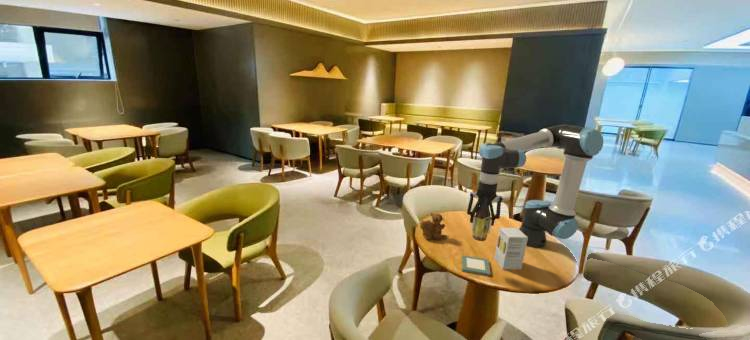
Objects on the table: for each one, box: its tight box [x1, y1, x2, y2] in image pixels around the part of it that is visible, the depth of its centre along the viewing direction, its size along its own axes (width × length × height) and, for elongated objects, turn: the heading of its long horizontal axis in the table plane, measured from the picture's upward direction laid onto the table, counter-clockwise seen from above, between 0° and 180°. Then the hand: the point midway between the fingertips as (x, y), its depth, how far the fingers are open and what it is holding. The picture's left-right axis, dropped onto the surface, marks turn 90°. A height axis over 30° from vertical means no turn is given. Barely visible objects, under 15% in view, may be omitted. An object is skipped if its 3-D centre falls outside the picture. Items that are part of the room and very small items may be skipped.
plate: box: [461, 254, 491, 277], centre depth 143 cm, size 12×12×1 cm
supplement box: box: [494, 227, 528, 270], centre depth 144 cm, size 10×9×17 cm
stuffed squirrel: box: [419, 212, 448, 241], centre depth 167 cm, size 10×14×13 cm
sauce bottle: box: [471, 198, 492, 242], centre depth 136 cm, size 7×6×20 cm
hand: (480, 230), depth 138 cm, fingers closed on sauce bottle, 6 cm apart
